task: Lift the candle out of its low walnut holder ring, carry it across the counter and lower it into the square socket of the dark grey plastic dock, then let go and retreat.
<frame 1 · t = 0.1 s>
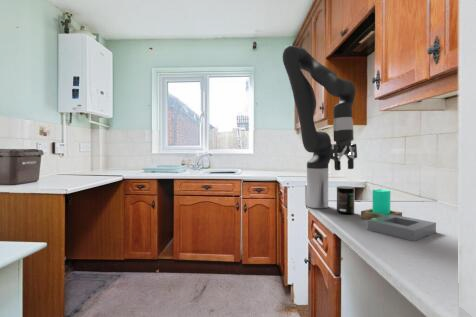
hand: (344, 169, 116), 17 cm above the countertop, tool pointing down, fingers open, 8 cm apart
dock: (401, 230, 91), on the countertop
candle: (381, 219, 106), resting in holder ring
holder ring: (381, 218, 106), on the countertop
supplement container: (345, 213, 115), on the countertop
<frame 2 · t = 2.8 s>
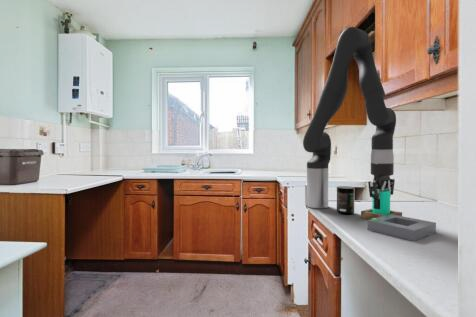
hand: (381, 207, 106), 4 cm above the countertop, tool pointing down, fingers closed on candle, 5 cm apart
candle: (381, 219, 106), resting in holder ring, touching gripper
everything else where it was.
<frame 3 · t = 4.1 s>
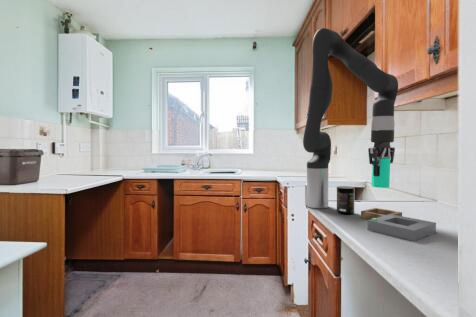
hand: (381, 175, 106), 16 cm above the countertop, tool pointing down, fingers closed on candle, 5 cm apart
candle: (380, 187, 106), point 12 cm above the countertop, touching gripper
everything else where it was.
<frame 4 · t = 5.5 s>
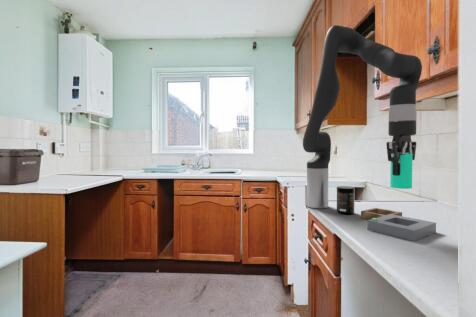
hand: (401, 174, 90), 18 cm above the countertop, tool pointing down, fingers closed on candle, 5 cm apart
candle: (400, 187, 90), point 14 cm above the countertop, touching gripper
everything else where it was.
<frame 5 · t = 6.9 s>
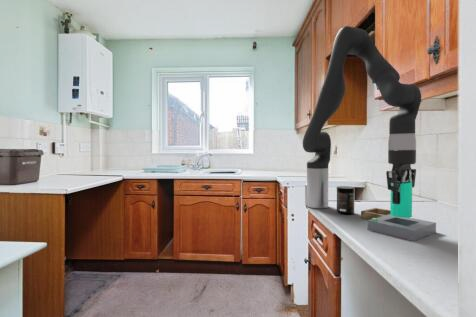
hand: (401, 202, 90), 9 cm above the countertop, tool pointing down, fingers closed on candle, 5 cm apart
candle: (400, 215, 90), point 5 cm above the countertop, touching gripper
everything else where it was.
when the fingers open (5 cm above the countertop, at t = 8.1 s): candle drops 1 cm, resting in dock.
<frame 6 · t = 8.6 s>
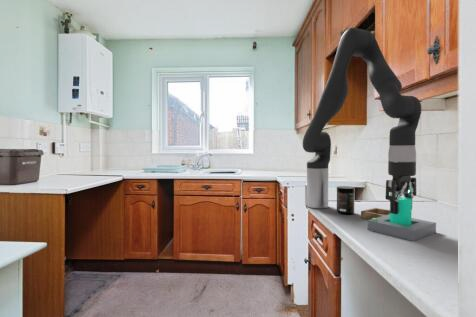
hand: (401, 211, 91), 6 cm above the countertop, tool pointing down, fingers open, 8 cm apart
candle: (400, 231, 91), resting in dock
everything else where it was.
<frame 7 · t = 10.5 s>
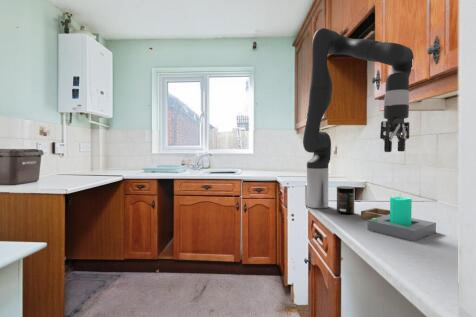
hand: (394, 151, 100), 25 cm above the countertop, tool pointing down, fingers open, 8 cm apart
nothing on the countertop moved.
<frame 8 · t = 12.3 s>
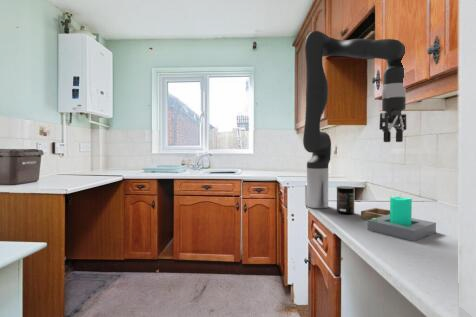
hand: (393, 142, 106), 28 cm above the countertop, tool pointing down, fingers open, 8 cm apart
nothing on the countertop moved.
at the end: candle 0.3 cm from the dock (horizontally); candle touching countertop; candle tilted 0° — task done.
